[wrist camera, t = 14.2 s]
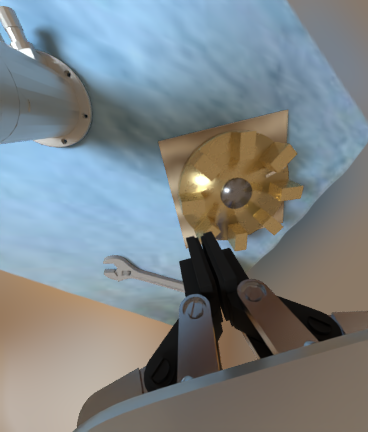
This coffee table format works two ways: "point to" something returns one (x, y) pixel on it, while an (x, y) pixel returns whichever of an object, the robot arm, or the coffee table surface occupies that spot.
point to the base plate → (185, 144)
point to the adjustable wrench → (138, 274)
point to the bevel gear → (236, 185)
